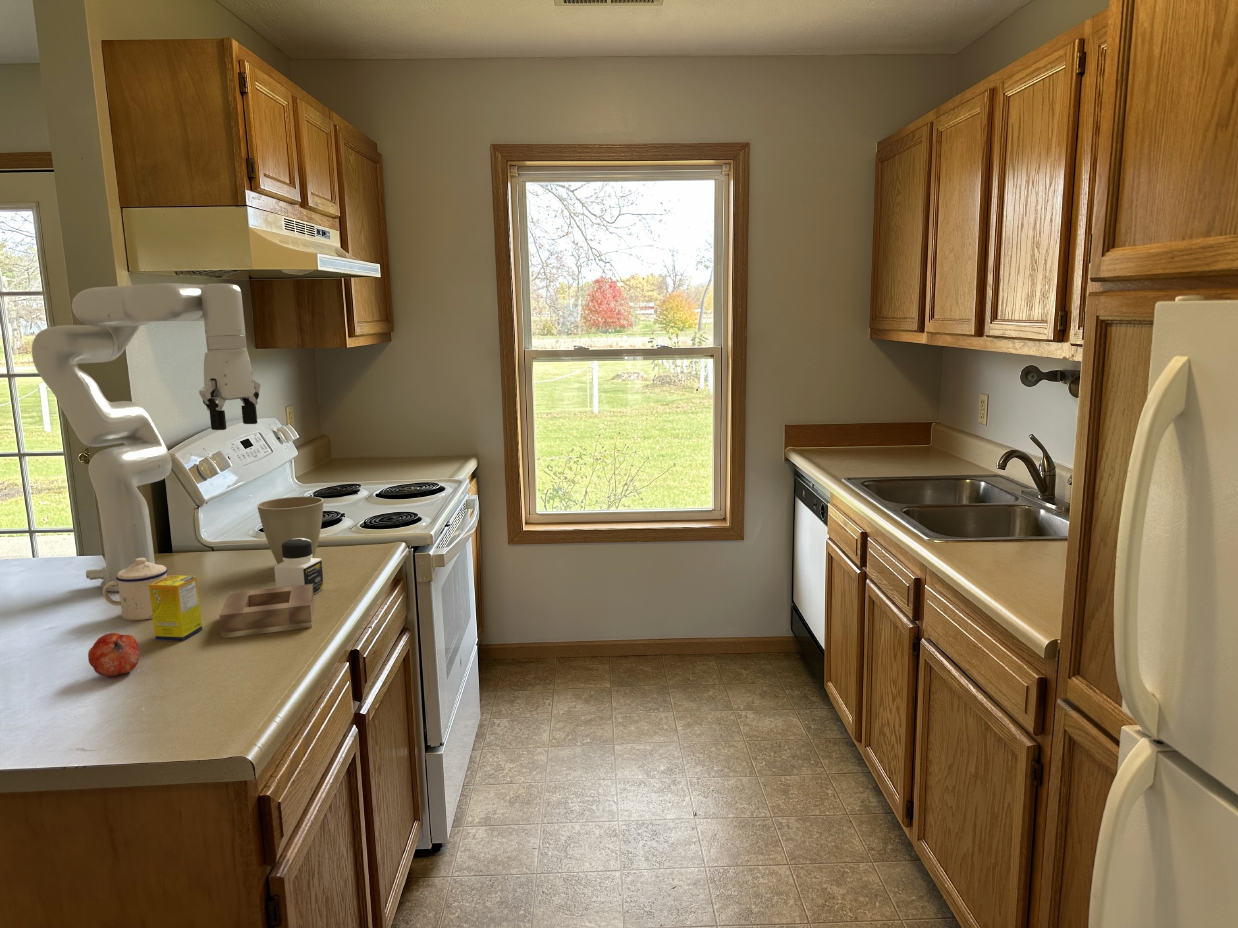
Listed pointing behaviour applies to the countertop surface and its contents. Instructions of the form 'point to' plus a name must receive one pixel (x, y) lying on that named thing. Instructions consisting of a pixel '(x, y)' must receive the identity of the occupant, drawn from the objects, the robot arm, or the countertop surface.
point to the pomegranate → (114, 654)
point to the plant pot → (291, 521)
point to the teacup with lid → (136, 589)
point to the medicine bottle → (299, 566)
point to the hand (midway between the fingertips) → (235, 426)
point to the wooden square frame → (267, 611)
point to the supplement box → (175, 607)
